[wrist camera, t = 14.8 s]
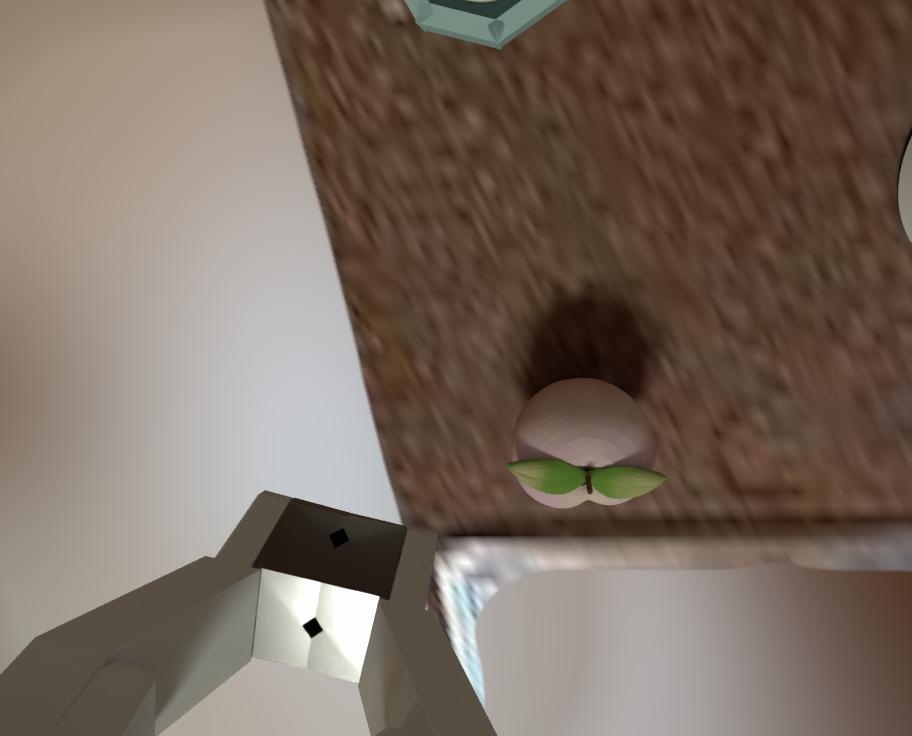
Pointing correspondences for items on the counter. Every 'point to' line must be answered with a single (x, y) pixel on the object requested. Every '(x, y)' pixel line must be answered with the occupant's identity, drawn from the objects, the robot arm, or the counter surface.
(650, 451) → the decorative fruit
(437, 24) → the studded octagonal holder
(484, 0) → the cap
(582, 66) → the counter surface
